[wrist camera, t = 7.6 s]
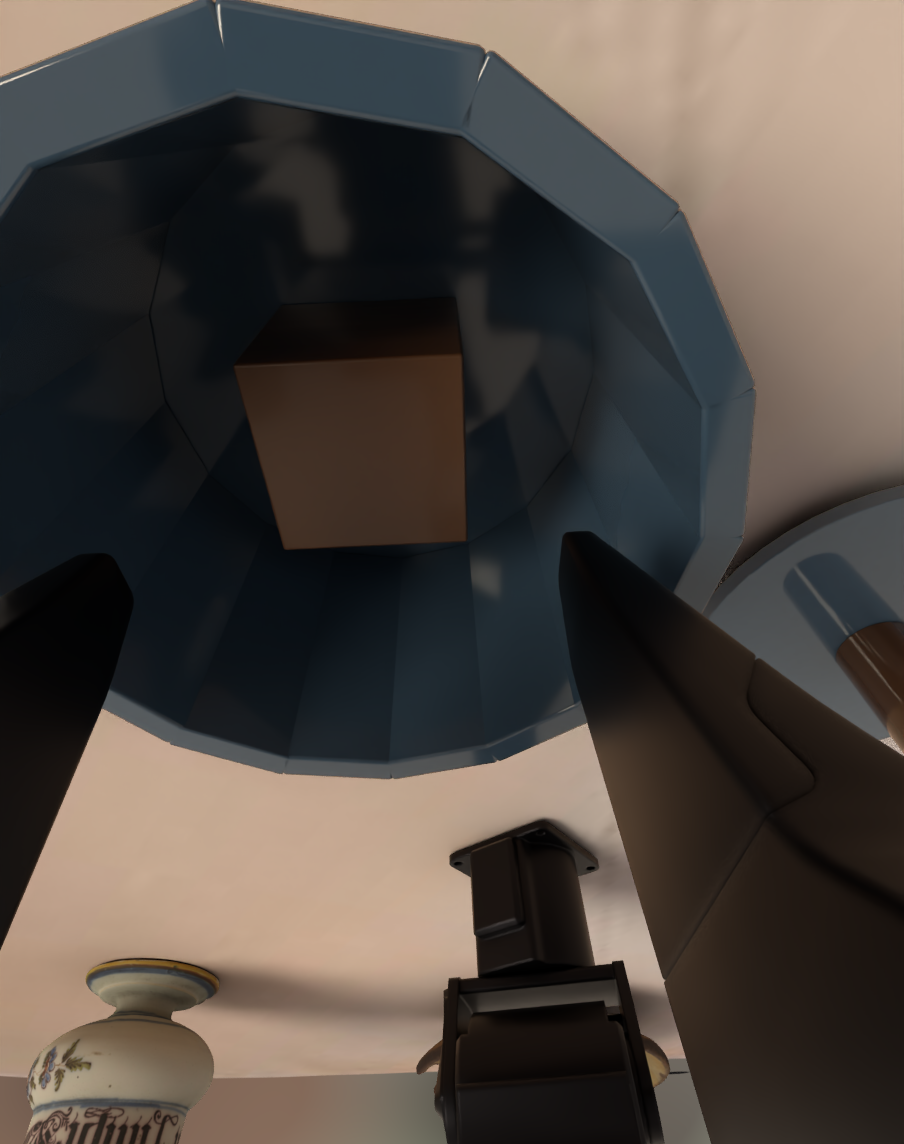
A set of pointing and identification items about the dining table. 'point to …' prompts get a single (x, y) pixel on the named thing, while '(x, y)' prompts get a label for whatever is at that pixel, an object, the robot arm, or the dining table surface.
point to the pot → (334, 275)
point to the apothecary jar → (125, 1061)
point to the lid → (830, 609)
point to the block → (360, 422)
